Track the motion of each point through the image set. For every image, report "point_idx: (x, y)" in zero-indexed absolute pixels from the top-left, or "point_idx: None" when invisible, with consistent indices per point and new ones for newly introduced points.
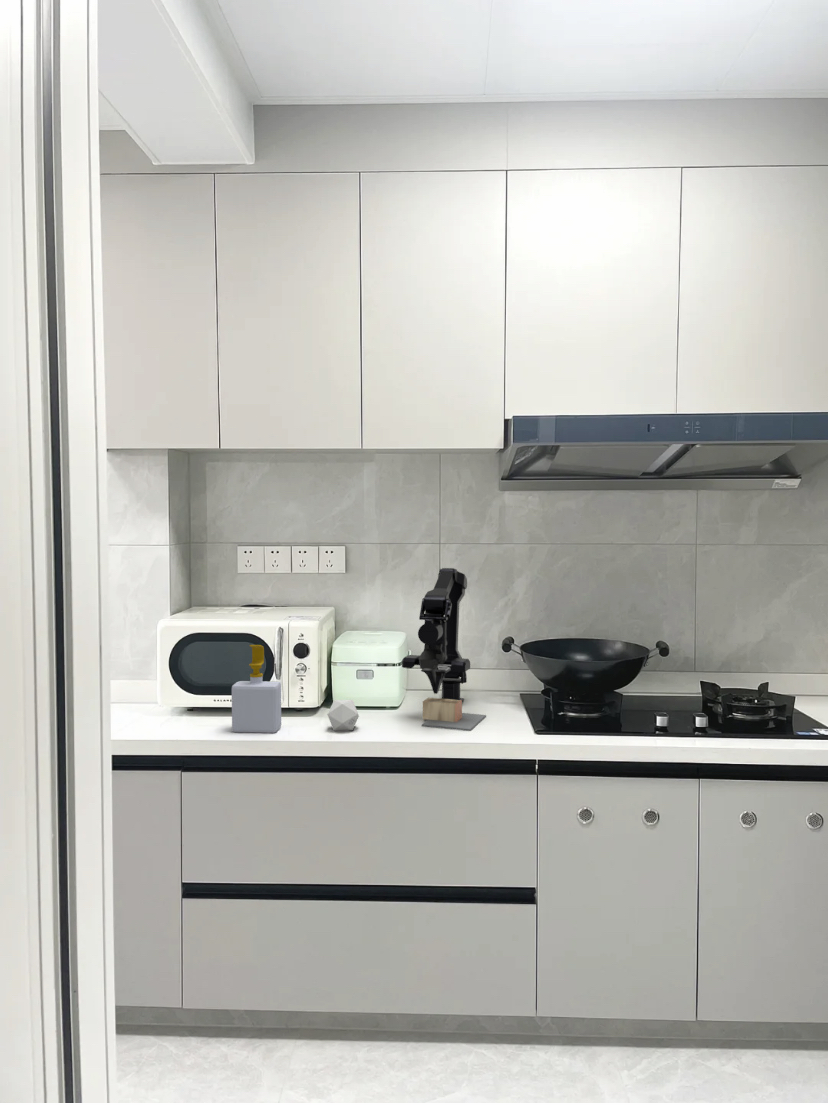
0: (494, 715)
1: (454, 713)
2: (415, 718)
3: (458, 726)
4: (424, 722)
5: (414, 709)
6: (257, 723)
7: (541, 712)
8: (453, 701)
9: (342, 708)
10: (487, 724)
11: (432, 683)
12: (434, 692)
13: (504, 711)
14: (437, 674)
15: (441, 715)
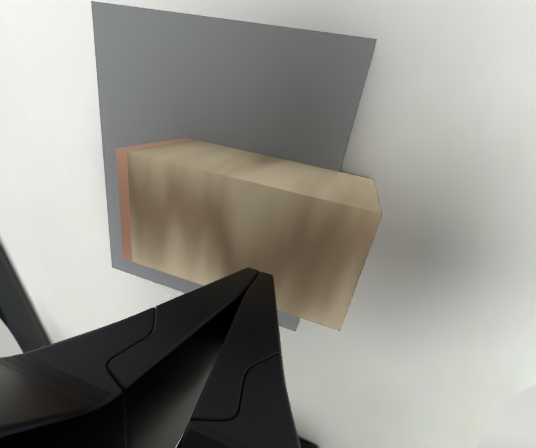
0: (99, 280)
1: (170, 144)
2: (419, 223)
3: (157, 44)
4: (358, 94)
5: (423, 381)
6: None
7: (6, 310)
8: (157, 228)
9: None
10: (78, 151)
11: (251, 331)
12: (266, 276)
13: (89, 325)
14: (3, 400)
15: (253, 158)
